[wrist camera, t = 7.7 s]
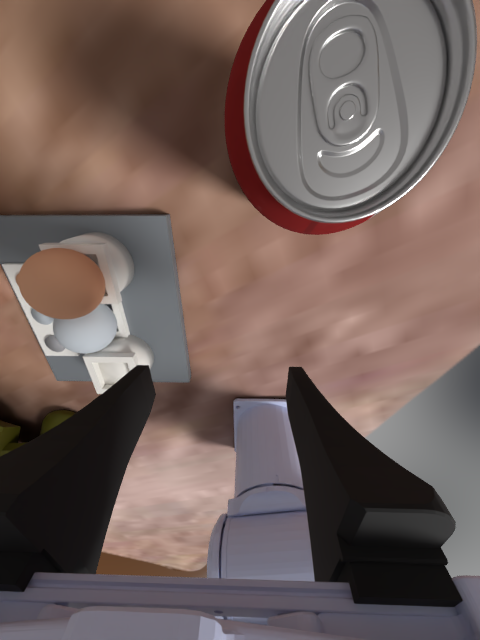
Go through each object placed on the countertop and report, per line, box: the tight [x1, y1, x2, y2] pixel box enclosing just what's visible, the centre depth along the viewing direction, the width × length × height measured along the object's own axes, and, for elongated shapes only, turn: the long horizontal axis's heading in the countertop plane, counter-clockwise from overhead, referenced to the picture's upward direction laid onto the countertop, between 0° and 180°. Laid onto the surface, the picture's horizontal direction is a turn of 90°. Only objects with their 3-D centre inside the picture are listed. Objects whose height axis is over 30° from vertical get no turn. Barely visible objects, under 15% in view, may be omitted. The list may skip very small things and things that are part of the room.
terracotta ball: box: [18, 248, 105, 319], centre depth 15 cm, size 4×4×4 cm
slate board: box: [0, 214, 191, 382], centre depth 22 cm, size 16×14×2 cm
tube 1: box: [39, 232, 134, 304], centre depth 18 cm, size 5×5×3 cm
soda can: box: [225, 0, 477, 235], centre depth 11 cm, size 7×7×12 cm
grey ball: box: [53, 304, 117, 354], centre depth 20 cm, size 4×4×4 cm
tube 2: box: [83, 335, 154, 394], centre depth 22 cm, size 5×5×3 cm
